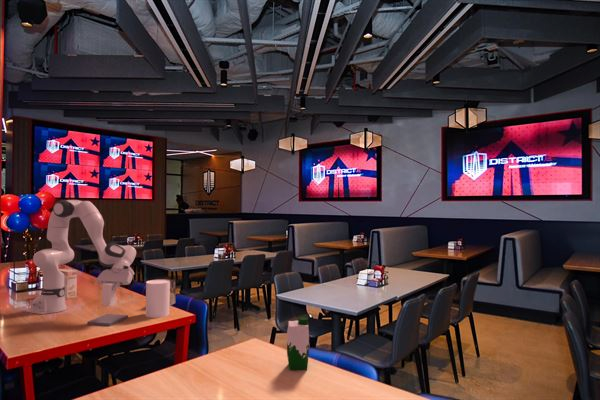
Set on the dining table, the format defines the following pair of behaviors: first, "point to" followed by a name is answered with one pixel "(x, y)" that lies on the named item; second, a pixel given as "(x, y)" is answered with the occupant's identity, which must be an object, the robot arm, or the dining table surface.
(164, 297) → the canister
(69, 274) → the coffeecake box
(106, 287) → the white post
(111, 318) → the slate board
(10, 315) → the dining table surface
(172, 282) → the coffee box
